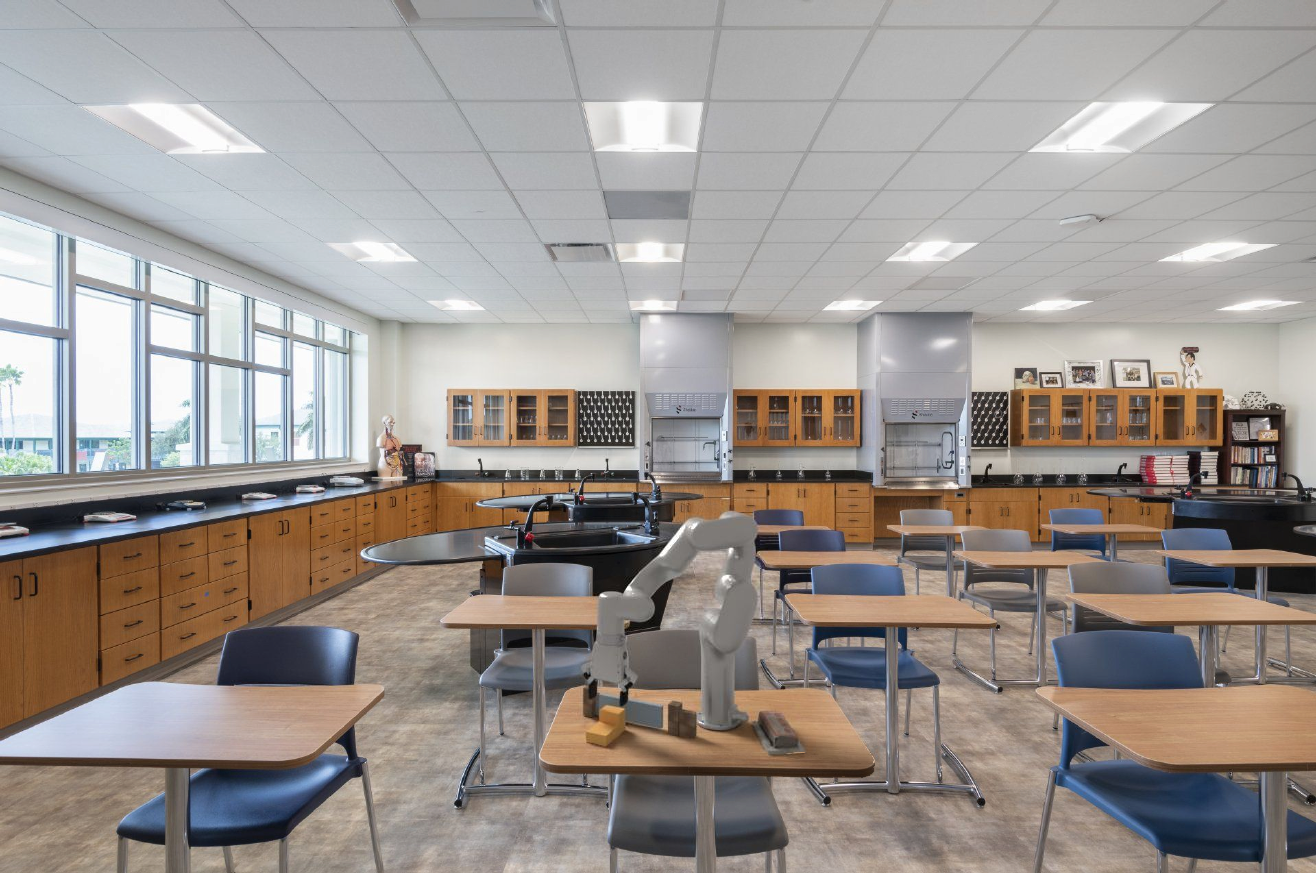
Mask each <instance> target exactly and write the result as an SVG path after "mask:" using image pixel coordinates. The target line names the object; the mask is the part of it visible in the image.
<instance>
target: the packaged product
mask: <svg viewBox="0 0 1316 873" xmlns="http://www.w3.org/2000/svg"><path fill="white" fill-rule="evenodd" d="M751 723H752V727H753V729H754V731H755V733H756V735H757V737H758V739H760V740H759V741H761V742H760V743H761V745H762V747H763V750H765V752H766V753H767V755H768V756H777V755H776V754H787V753H794V752H805V753H806V749H805V747H804V746H803V744H802V743H801V742H800V739H799V737H798V736H797V733H795V732H796V731H794V729H793V728H792V726H791V725H790V724H789V722H788V721H787V719H786V718H785V716H784V714H783V713H782V712H781V711H779V710H777V709H776V710H762V711H761V710H760V711H758V717H757V721H756V720H753V721H751ZM774 754H775V755H774Z"/></svg>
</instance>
